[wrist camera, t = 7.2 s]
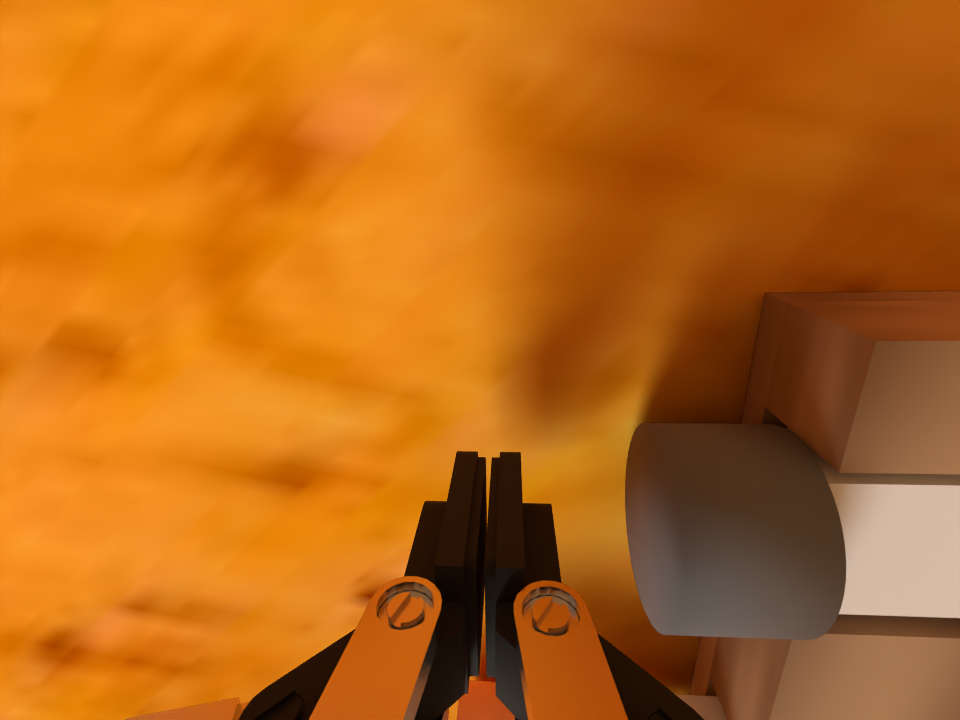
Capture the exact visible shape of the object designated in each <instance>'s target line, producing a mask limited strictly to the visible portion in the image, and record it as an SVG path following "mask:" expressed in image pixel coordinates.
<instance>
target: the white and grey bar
mask: <svg viewBox="0 0 960 720" xmlns="http://www.w3.org/2000/svg"><path fill="white" fill-rule="evenodd" d="M625 508H626V524H627V535H628V543H629V551H630V557H631V563H632V568H633V573H634V577H635V582H636V586H637V589H638V593H639V596H640V599H641V602H642V605H643V608H644V610H645V613H646V615H647V617H648V619H649V621H650V623H651V624H652V626H653V627H654V628H655V630H656V631H657V632H659V633H660V634H662V635H681V636H708V637H736V638H763V639H791V640H813V639H817V638H819V637H821V636H823V635H824V634H825V633H826V632H827V631H828V630H829V629H830V628H831V627H832V625H833V624H834V622H835V621H836V619H837V616H838V614H850V615H880V616H911V617H941V618H960V474H892V473H839V472H838V471H837V470H835V469H834V468H833V467H832V466H831V465H830V464H829V463H827V462H826V461H825V460H824V459H823V458H822V457H821V456H820V455H818V454H817V453H816V452H815V451H814V450H813V449H812V448H811V447H809V446H808V445H807V444H806V443H805V442H804V441H803V440H802V439H800V438H799V437H798V436H797V435H796V434H795V433H794V432H793V431H791V430H790V429H789V428H783V427H782V426H778V425H775V424H731V423H642V424H640V425H639V426H638V427H637V429H636V430H635V432H634V434H633V437H632V440H631V443H630V447H629V452H628V458H627V466H626V481H625Z"/></svg>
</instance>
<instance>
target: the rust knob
mask: <svg viewBox="0 0 960 720" xmlns="http://www.w3.org/2000/svg"><path fill="white" fill-rule="evenodd" d="M676 696H678V697H679V698H680V699H682V700H683V701H684V702H685V703H687V704H688V705H689V706H690V707H692V708H693V709H694V710H695V711H696V712H697V713H698V714H699V715H700V716H701V717H702V718H703V719H704V720H727V719H726V716H725V714H724V711H723V709H722V706H721V704H720V701H719V699H718V696H697V695H676ZM457 720H513V714H512V713H511V712H510V711H509V710H508V708H507V707H506V706H505V705H504V704H503V703H502V702H501V701H500V700H499V699H498V698H497V696H496V682H489V681H469V689H468V694H464V695H463V696H462V697H461V698H459V705H458V713H457Z"/></svg>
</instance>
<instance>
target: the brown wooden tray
mask: <svg viewBox="0 0 960 720" xmlns="http://www.w3.org/2000/svg"><path fill="white" fill-rule="evenodd" d="M741 424H775V425H778V426H782V427H783V428H789V429H790V430H791V431H793V432H794V433H795V434H796V435H797V436H798V437H799V438H800V439H802V440H803V441H804V442H805V443H806V444H807V445H808V446H809V447H811V448H812V449H813V450H814V451H815V452H816V453H817V454H818V455H820V456H821V457H822V458H823V459H824V460H825V461H826V462H827V463H829V464H830V465H831V466H832V467H833V468H834V469H835V470H837V471H838V472H839V473H892V474H960V291H911V292H811V293H766V294H765V300H764V305H763V310H762V315H761V321H760V326H759V331H758V336H757V342H756V347H755V352H754V358H753V363H752V368H751V373H750V379H749V384H748V389H747V394H746V400H745V405H744V410H743V416H742V421H741ZM690 695H697V696H718V699H719V701H720V704H721V706H722V709H723V711H724V714H725V716H726V719H727V720H960V618H941V617H911V616H880V615H850V614H838V616H837V619H836V621H835V622H834V624H833V625H832V627H831V628H830V629H829V630H828V631H827V632H826V633H825V634H824V635H823V636H821V637H819V638H817V639H813V640H791V639H763V638H736V637H708V636H701V637H700V642H699V648H698V653H697V658H696V663H695V669H694V674H693V679H692V685H691V690H690Z"/></svg>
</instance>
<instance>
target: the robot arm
mask: <svg viewBox="0 0 960 720" xmlns="http://www.w3.org/2000/svg"><path fill="white" fill-rule="evenodd" d="M484 590H485V615H486V666H487V677H496V696H497V698H498V699H499V700H500V701H501V702H502V703H503V704H504V705H505V706H506V707H507V708H508V710H509V711H510V712H511V713H512V714H513V720H704V719H703V718H702V717H701V716H700V715H699V714H698V713H697V712H696V711H695V710H694V709H693V708H692V707H690V706H689V705H688V704H687V703H685V702H684V701H683V700H682V699H680V698H679V697H678V696H676V695H675V694H674V693H673V692H671V691H670V690H669V689H668V688H666V687H665V686H664V685H662V684H661V683H660V682H659V681H657V680H656V679H655V678H654V677H652V676H651V675H650V674H648V673H647V672H646V671H645V670H643V669H642V668H641V667H640V666H638V665H637V664H636V663H634V662H633V661H632V660H631V659H629V658H628V657H627V656H626V655H624V654H623V653H622V652H620V651H619V650H618V649H617V648H615V647H614V646H613V645H612V644H610V643H609V642H608V641H606V640H605V639H604V638H603V637H601V636H600V635H599V634H598V633H597V632H596V629H595V626H594V624H593V621H592V618H591V615H590V613H589V610H588V607H587V605H586V603H585V601H584V600H583V598H582V597H581V596H580V595H579V594H578V593H577V592H576V591H575V590H574V589H572V588H571V587H569V586H567V585H565V584H563V583H561V576H560V568H559V561H558V553H557V545H556V537H555V529H554V521H553V513H552V506H551V504H535V503H522V477H521V453H520V452H500V458H493V457H492V464H491V479H490V494H489V509H488V523H487V503H486V458H485V457H478V452H463V451H457V453H456V458H455V463H454V468H453V474H452V479H451V484H450V489H449V494H448V499H447V501H425V502H424V505H423V508H422V512H421V516H420V519H419V523H418V527H417V531H416V534H415V538H414V542H413V545H412V549H411V553H410V557H409V560H408V564H407V568H406V571H405V575H404V577H400V578H396V579H394V580H392V581H390V582H387V583H386V584H384V585H383V586H382V587H381V588H379V589H378V590H377V591H376V593H375V594H374V596H373V597H372V598H371V600H370V602H369V604H368V606H367V608H366V610H365V612H364V614H363V616H362V618H361V619H360V621H359V623H358V625H357V627H356V629H355V630H353V631H352V632H350V633H348V634H347V635H345V636H344V637H342V638H341V639H339V640H338V641H336V642H335V643H333V644H332V645H330V646H329V647H327V648H326V649H324V650H323V651H321V652H319V653H318V654H316V655H315V656H313V657H312V658H310V659H309V660H307V661H306V662H304V663H303V664H301V665H300V666H298V667H297V668H295V669H294V670H292V671H290V672H289V673H287V674H286V675H284V676H283V677H281V678H280V679H278V680H277V681H275V682H274V683H272V684H271V685H269V686H268V687H266V688H265V689H264V690H262V691H261V692H260V693H259V694H257V695H256V696H255V697H254V698H253V699H252V700H251V701H250V702H247V703H242V704H240V700H239V697H238V698H233V699H228V700H222V701H217V702H211V703H206V704H201V705H195V706H190V707H185V708H179V709H174V710H168V711H163V712H158V713H152V714H147V715H142V716H136V717H132V718H129V719H126V720H448V715H449V707H450V706H451V705H453V704H454V703H455V702H456V701H457V700H458V699H459V698H461V697H462V696H463V695H464V694H468V689H469V677H470V676H479V669H480V653H481V637H482V621H483V606H484Z"/></svg>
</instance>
